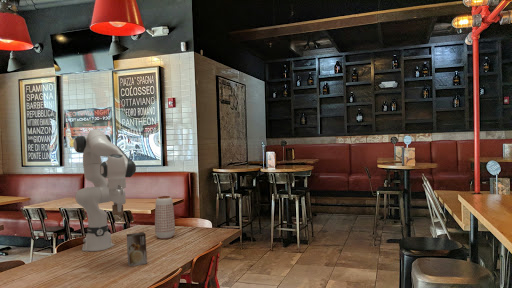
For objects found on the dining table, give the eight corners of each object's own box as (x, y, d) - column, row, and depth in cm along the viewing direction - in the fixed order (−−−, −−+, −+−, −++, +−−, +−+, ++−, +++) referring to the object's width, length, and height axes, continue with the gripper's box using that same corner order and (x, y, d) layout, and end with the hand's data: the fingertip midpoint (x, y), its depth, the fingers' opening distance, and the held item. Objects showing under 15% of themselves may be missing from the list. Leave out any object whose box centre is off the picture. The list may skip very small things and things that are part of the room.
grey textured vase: (179, 236, 257) (177, 196, 257) (164, 240, 246) (163, 198, 246) (165, 234, 264) (164, 195, 265) (151, 238, 253) (149, 197, 253)
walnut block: (112, 214, 195) (112, 204, 195) (121, 213, 198) (120, 204, 198) (114, 215, 192) (114, 205, 192) (123, 214, 194) (123, 204, 194)
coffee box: (144, 260, 204) (143, 231, 204) (147, 263, 198) (146, 233, 198) (127, 263, 199) (126, 233, 199) (129, 266, 194) (128, 236, 194)
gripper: (128, 185, 188) (129, 212, 188) (118, 183, 205) (119, 208, 205) (115, 186, 184) (116, 214, 184) (106, 184, 201) (107, 209, 201)
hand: (117, 211), depth 195 cm, fingers closed on walnut block, 4 cm apart
